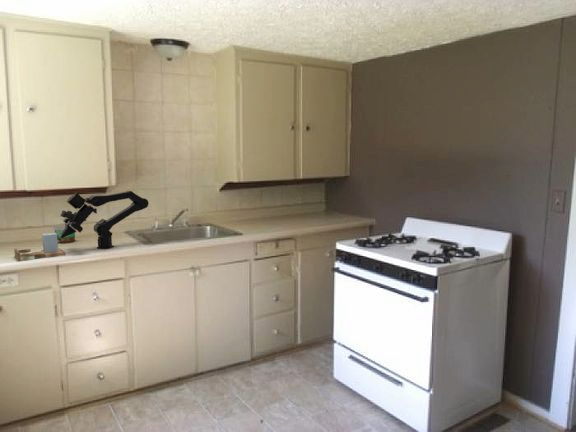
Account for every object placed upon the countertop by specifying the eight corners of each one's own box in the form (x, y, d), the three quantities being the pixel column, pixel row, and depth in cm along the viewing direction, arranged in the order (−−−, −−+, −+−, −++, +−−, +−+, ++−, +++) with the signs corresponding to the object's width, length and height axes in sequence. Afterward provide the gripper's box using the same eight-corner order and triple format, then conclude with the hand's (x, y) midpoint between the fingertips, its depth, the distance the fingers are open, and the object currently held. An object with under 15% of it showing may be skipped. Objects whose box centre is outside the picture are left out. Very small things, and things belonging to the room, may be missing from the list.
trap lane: (60, 251, 248) (59, 243, 247) (65, 255, 238) (64, 247, 238) (14, 256, 235) (14, 248, 235) (18, 261, 226) (17, 253, 225)
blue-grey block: (56, 249, 243) (54, 232, 242) (58, 251, 239) (56, 234, 238) (43, 251, 240) (42, 234, 238) (45, 253, 236) (43, 235, 234)
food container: (56, 244, 264) (54, 227, 262) (54, 243, 269) (52, 225, 267) (79, 242, 271) (78, 225, 269) (77, 240, 276) (76, 223, 274)
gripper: (66, 202, 250) (44, 225, 245) (74, 206, 235) (51, 230, 230) (82, 216, 256) (62, 238, 251) (91, 220, 241) (70, 244, 236)
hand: (61, 237), depth 242 cm, fingers closed
